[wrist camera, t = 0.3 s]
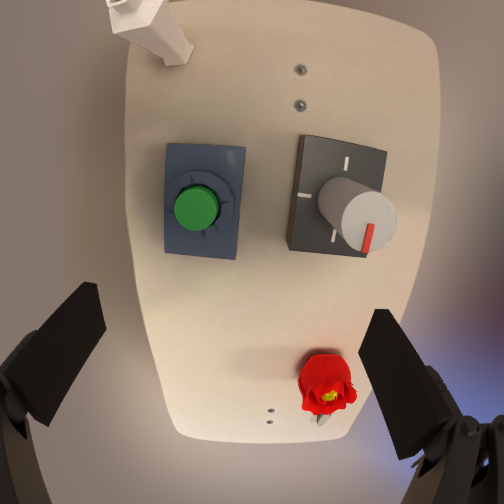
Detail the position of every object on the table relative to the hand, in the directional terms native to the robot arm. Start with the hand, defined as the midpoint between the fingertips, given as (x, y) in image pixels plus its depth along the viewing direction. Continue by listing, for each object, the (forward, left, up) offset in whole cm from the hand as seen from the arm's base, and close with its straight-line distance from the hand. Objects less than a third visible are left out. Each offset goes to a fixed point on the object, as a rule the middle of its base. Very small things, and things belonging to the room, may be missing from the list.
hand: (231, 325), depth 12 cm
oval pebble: (+37, +18, -20) cm, 46 cm away
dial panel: (-3, +9, -20) cm, 22 cm away
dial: (-3, +9, -17) cm, 19 cm away
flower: (+22, +13, -20) cm, 32 cm away
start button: (-1, -5, -16) cm, 17 cm away
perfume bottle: (-18, -9, -20) cm, 29 cm away
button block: (-1, -5, -20) cm, 20 cm away
